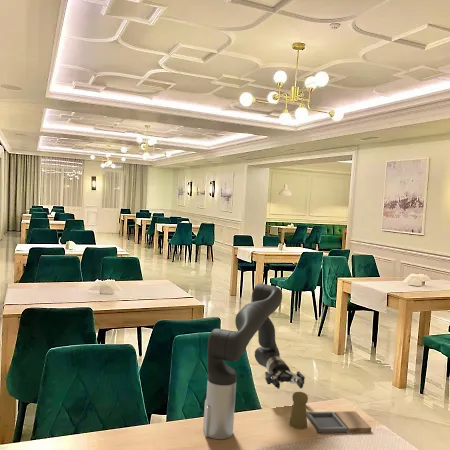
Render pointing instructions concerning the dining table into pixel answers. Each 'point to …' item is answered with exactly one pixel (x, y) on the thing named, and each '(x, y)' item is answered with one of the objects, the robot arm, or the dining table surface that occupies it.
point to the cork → (299, 411)
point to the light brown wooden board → (353, 421)
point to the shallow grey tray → (326, 422)
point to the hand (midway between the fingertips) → (290, 386)
